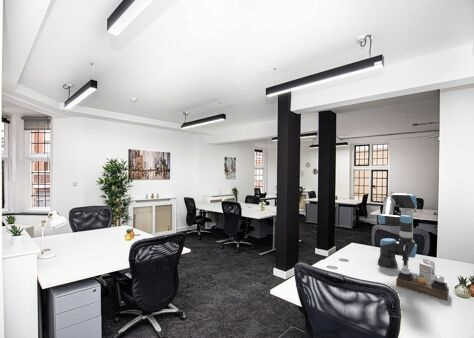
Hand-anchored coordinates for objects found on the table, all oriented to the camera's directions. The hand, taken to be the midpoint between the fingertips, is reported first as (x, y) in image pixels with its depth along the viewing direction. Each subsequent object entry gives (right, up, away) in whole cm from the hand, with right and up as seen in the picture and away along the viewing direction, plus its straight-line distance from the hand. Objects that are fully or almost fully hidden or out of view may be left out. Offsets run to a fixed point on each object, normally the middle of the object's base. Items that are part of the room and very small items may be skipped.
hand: (405, 269), depth 176 cm
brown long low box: (+7, -12, -7) cm, 15 cm away
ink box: (+24, -13, +11) cm, 29 cm away
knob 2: (+14, -4, -13) cm, 19 cm away
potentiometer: (+7, -7, -7) cm, 12 cm away
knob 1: (0, -4, 0) cm, 4 cm away
